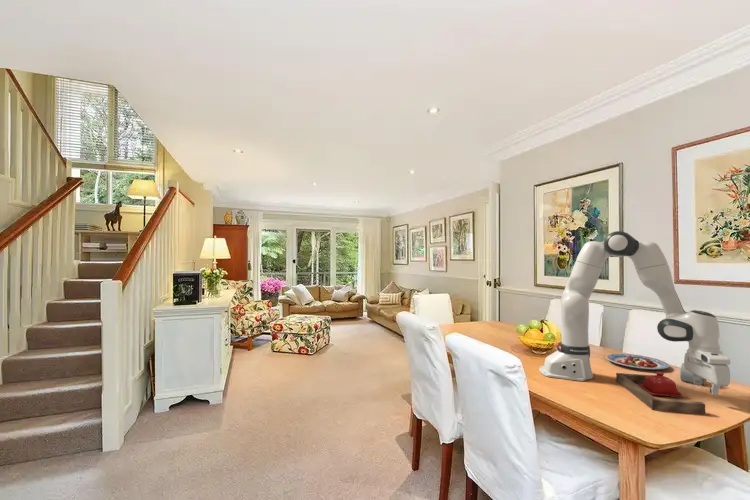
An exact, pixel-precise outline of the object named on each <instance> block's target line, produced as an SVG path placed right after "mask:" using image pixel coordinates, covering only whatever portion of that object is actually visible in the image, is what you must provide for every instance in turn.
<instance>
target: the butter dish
mask: <svg viewBox="0 0 750 500" xmlns="http://www.w3.org/2000/svg"><path fill="white" fill-rule="evenodd" d="M655 373H656V374H650V375H649V374H648V375H649V376H646V377H645V381H644V384H638V386H639V387H641V388H642V389H643V390H645V391H646V392H648V393H649V394H650V395H652V396H653V395H654V396H659V395H661V396H662V397H671V396H673V398H676V397H680V398H681V397H684V396H685V395H683V393H681V392H679V389H678V385H677V384H676V382H675V381H674V380H672V379H671V378H669V377H668V376H666V375H665V373H663V372H662V371H656V372H655ZM664 375H665V376H664Z"/></svg>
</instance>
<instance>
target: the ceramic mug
mask: <svg viewBox="0 0 750 500" xmlns="http://www.w3.org/2000/svg"><path fill="white" fill-rule="evenodd" d="M699 378H700V381H701V386H702V385H703V386H704V385H706V383H707V380H706V379H704V378H702V377H700V376H699ZM679 379H680V381H683V382H686V383H692V384H694V380H693V377H692V375H691V372H690V371H688V370H686V369H685V367H684V362H682V363H681V364H680V371H679Z"/></svg>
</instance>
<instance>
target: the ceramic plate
mask: <svg viewBox="0 0 750 500" xmlns="http://www.w3.org/2000/svg"><path fill="white" fill-rule="evenodd" d="M605 359H606V360H608V361H610V362H612V363H615V364H617V365H621V366H622V367H626V368H629V369H630V368H631V369H635V370H636V369H637V370H642V369H643V370H645V371H653V370H665V369H668V368H669V367H670V364H669V363H668V362H666V361H664V360H661V359H658V358H654V357H650V356H645V355H640V354H632V353H630V354H629V353H609V354H607V355H606V356H605Z"/></svg>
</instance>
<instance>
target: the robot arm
mask: <svg viewBox="0 0 750 500" xmlns="http://www.w3.org/2000/svg"><path fill="white" fill-rule="evenodd" d="M623 257H628V258H629V259H630V260H631V261H632V263H633V266H634V268H635V271H636V273H637V277H638V278H639V280H640V282H641V284H642V285H643V286H645V287H646V288H648V289H650V290H651V291H653V292H654V293H655V295H656V296H657V297H658V299H659V300H660V304H661V306H662V308H663V311H664V313H665V318H662V319H661V320H660V321H659V322H658V324H657V325H656V326H657V327H656V329H657V333H658V334H659V335H660V337H661V338H662V339H664V340H666V341H669V342H688V349H686V352H685V353H684V358H683V359H684V360H683V363H684V367H685V369H686V370H688V371H690V372H691V375H692V377H693V380H694V383H693V384H694V385H695V386H699V387H700V386H702V384H701V381H700V378H699V376H700V377H702V378H704V379H706V381H708V382H710V384H711V388H709V392H710V394H712V395H714V396H718V395H719V391H720V389H721V387H729V385H730V383H731V370H730V367H729V365H730V364H731V359H730V358H729V357H728V356H726V354H724V353H723V351H721V346H720V343H719V339H720V327H719V322H718V319H717V317H716V316H715V315H714V314H712V313H711V312H707V311H703V310H696V309H695V310H694V309H693V310H689V311H688V312H686V311H685V309H684V306H683V305H682V302H681V299H680V297H679V296H678V293H677V291H676V289H675V285H674V280H673V276H672V272H671V269H670V265H669V262H668V260H667V258H666V257H665V254H664V253H663V250H662V249H661V248H660V246H659V245H658V244H657V243H656V242H654V241H641V242H639V240H637V239H636V238H634V236H632V235H631V234H630V233H628V232H625V231H622V230H619V231H618V230H617V231H612V232H610V233H609V234H608V235H606V236H605V238H604V240H603V241H595V240H591V241H586V242H585V243H584V244H583V246H582V248H581V250H580V251H579V252H578V255H577V257H576V259H575V260H576V261H575V262H574V264H573V267H572V269H571V272H570V276H569V278H568V280H567V282H566V285H565V287H564V290H563V292H562V295H561V297H560V309H561V311H560V314H561V315H560V317H561V319H560V321H561V323H560V325H561V326H560V327H561V328H560V329H561V334H560V335H561V341H560V342H559V343H558V342H554V344H553V345H554V346H555V348H556V349H557V350H556V351H554V352H553V353H551V354H549V355H548V356H546V357H545V359H544V365H541V366H539V368H538V369H539V371H538V372H539V373H540V374H541V375H543V376H545V377H547V378H554V379H555V378H556V379H563V380H569V381H570V380H571V381H578V382H585V381H588V380H591V379H593V378H594V375H593V371H592V367H591V362H590V358H591V347H590V345H589V322H590V321H589V319H590V318H589V317H590V304H589V300H590V297H591V295H592V294H593V292H594V289H595V287H596V285H597V283H598V280H599V278H600V275H601V273H602V270H603V268H604V265H605V263H606V260H607V259H608V258H623Z"/></svg>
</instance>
